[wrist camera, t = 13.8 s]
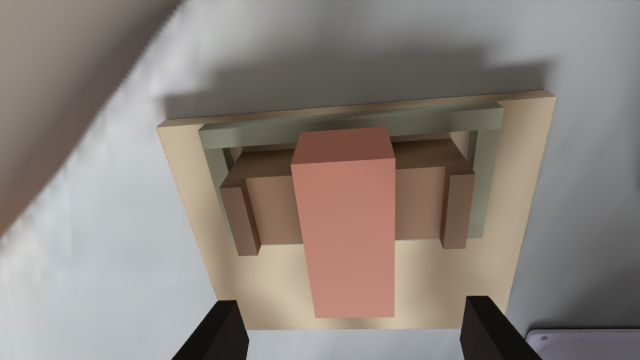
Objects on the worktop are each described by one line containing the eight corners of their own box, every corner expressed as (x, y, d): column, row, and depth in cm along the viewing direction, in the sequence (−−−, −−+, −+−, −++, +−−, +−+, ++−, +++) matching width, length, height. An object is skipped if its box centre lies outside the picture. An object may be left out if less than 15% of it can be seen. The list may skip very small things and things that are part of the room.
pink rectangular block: (386, 126, 14) (395, 158, 12) (387, 269, 18) (394, 317, 15) (300, 132, 14) (290, 164, 12) (319, 271, 18) (315, 318, 16)
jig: (544, 89, 17) (569, 102, 15) (495, 313, 25) (507, 340, 23) (165, 119, 19) (146, 134, 17) (232, 316, 27) (224, 341, 25)
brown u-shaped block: (451, 138, 17) (475, 173, 14) (445, 203, 19) (465, 248, 16) (241, 152, 19) (218, 188, 15) (256, 212, 20) (238, 256, 17)
